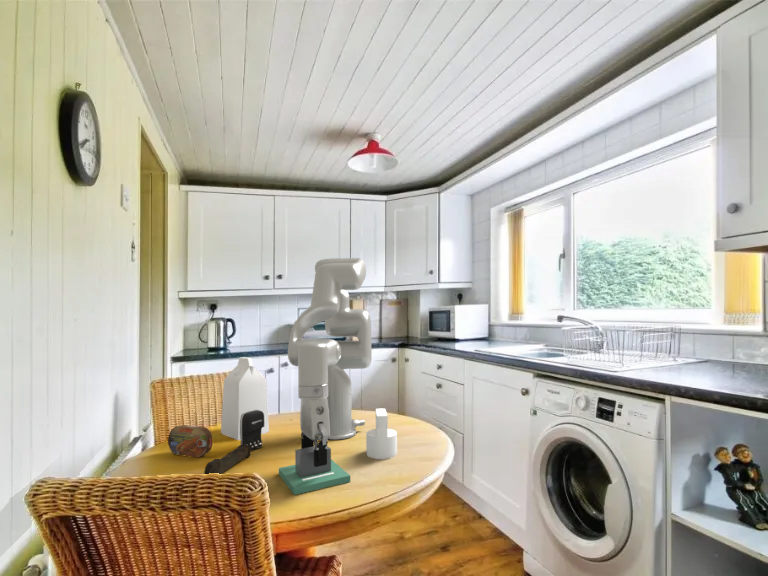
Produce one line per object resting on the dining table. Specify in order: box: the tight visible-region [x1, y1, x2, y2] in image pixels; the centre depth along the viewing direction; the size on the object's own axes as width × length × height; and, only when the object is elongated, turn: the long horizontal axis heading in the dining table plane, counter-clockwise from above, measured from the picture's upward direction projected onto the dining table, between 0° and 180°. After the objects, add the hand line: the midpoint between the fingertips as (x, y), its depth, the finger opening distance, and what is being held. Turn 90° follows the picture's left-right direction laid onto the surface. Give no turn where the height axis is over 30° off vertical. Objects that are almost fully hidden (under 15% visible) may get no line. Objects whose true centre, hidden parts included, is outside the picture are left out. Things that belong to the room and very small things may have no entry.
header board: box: [278, 458, 351, 496], centre depth 101 cm, size 14×14×5 cm
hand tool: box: [203, 444, 251, 475], centre depth 107 cm, size 19×4×5 cm, turn 167°
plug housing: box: [294, 445, 332, 478], centre depth 101 cm, size 8×4×6 cm, turn 119°
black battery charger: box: [240, 410, 264, 452], centre depth 123 cm, size 7×4×11 cm, turn 146°
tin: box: [167, 424, 213, 458], centre depth 118 cm, size 15×3×8 cm, turn 70°
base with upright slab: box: [365, 407, 398, 460], centre depth 117 cm, size 9×9×12 cm
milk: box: [220, 356, 270, 441], centre depth 140 cm, size 12×12×26 cm
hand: (313, 458), depth 101 cm, fingers open, 9 cm apart
